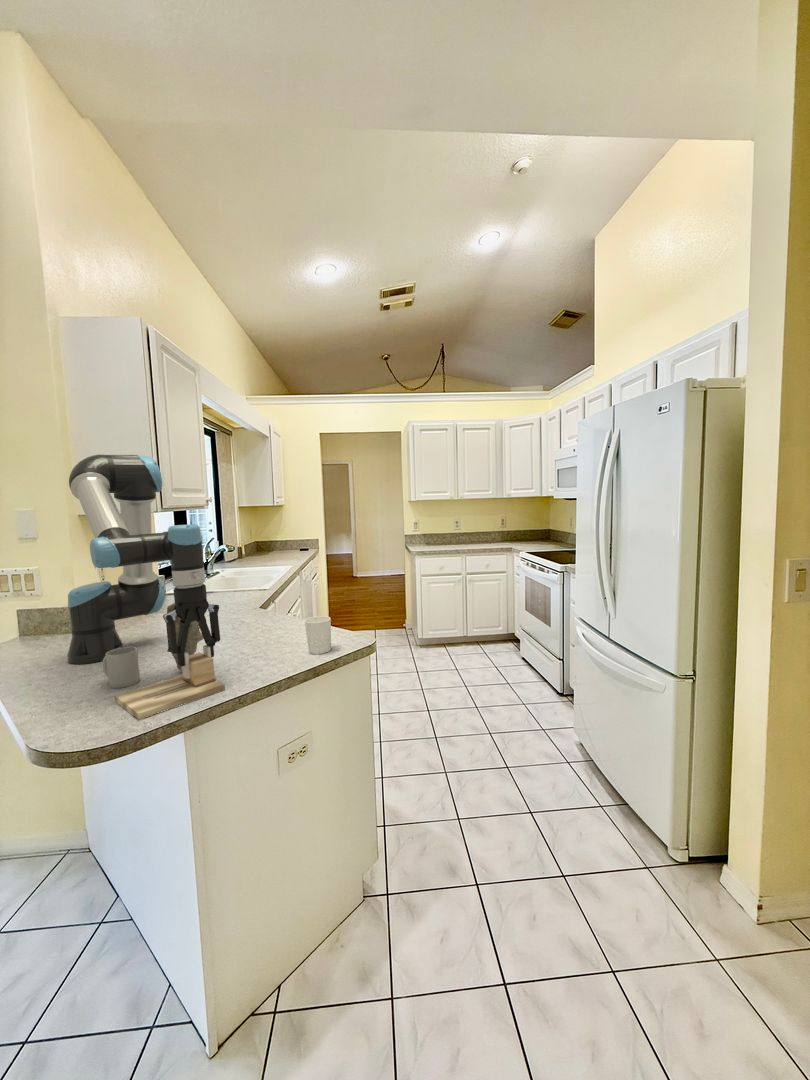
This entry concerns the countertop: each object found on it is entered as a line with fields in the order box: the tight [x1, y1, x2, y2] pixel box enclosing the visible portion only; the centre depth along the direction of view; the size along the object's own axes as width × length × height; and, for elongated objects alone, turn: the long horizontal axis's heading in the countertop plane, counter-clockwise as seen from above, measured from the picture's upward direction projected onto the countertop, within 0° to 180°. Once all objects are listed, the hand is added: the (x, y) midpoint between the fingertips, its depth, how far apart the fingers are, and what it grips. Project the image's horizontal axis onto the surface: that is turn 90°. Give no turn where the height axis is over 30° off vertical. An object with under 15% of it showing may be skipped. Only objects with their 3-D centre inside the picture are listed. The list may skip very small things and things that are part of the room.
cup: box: [101, 646, 141, 689], centre depth 126 cm, size 7×10×9 cm
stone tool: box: [166, 602, 204, 671], centre depth 134 cm, size 12×6×20 cm, turn 150°
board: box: [114, 674, 226, 721], centre depth 116 cm, size 16×20×2 cm
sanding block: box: [181, 652, 217, 688], centre depth 121 cm, size 8×5×6 cm, turn 47°
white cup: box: [304, 615, 332, 655], centre depth 145 cm, size 8×8×10 cm
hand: (197, 673), depth 121 cm, fingers closed on sanding block, 5 cm apart
